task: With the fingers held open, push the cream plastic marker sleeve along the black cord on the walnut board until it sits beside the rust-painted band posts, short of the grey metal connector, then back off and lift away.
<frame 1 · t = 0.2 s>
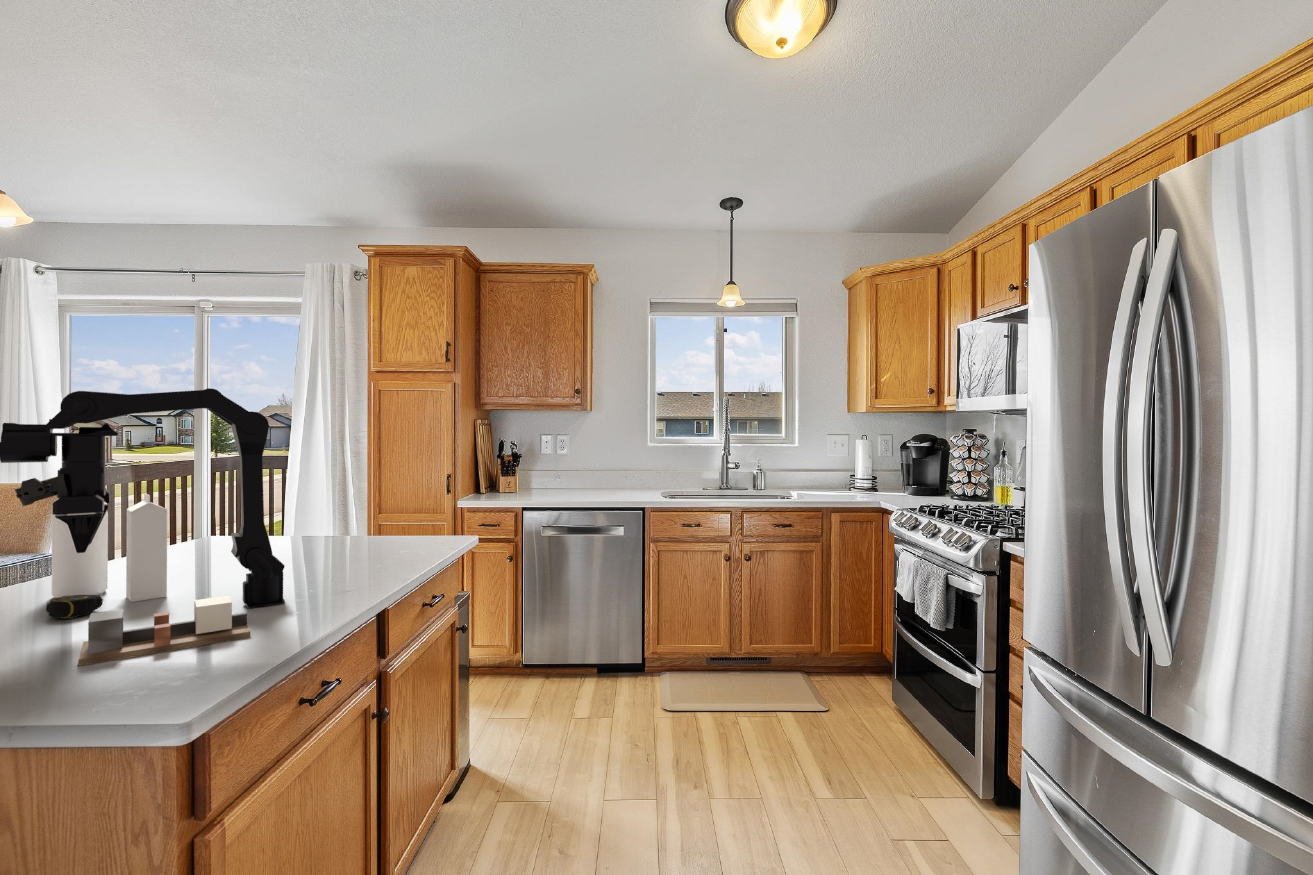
hand: (84, 548, 111), 14 cm above the counter, fingers open, 9 cm apart
tape measure: (73, 616, 119), on the counter
milk: (146, 597, 132), on the counter
alcohol: (80, 595, 133), on the counter
sleeve: (213, 614, 109), point 4 cm above the counter, slide at 0.0 cm
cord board: (169, 642, 105), on the counter
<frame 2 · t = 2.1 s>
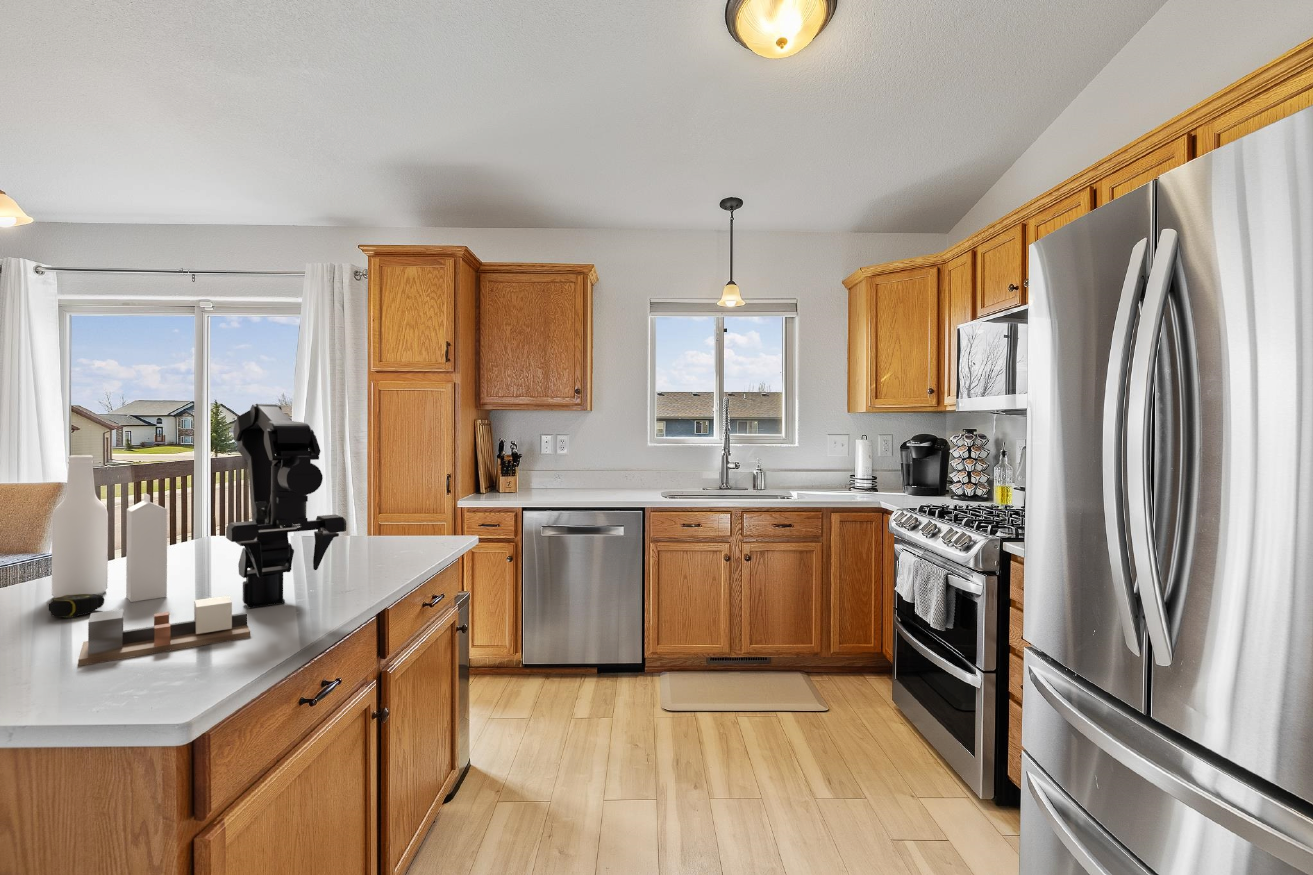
hand: (288, 573, 116), 9 cm above the counter, fingers open, 9 cm apart
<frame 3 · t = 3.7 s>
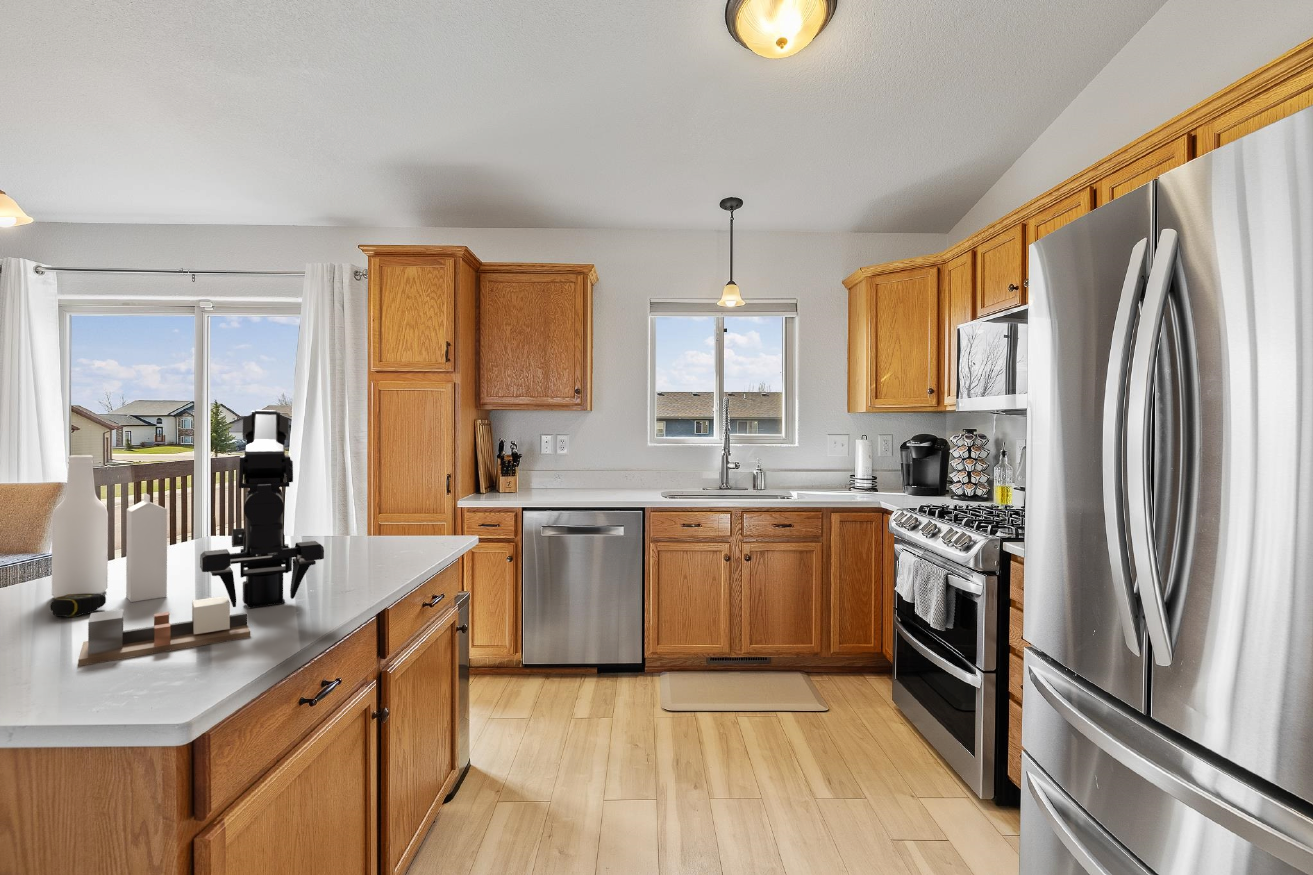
hand: (263, 602, 113), 5 cm above the counter, fingers open, 9 cm apart
sleeve: (210, 614, 108), point 4 cm above the counter, slide at 0.3 cm, touching gripper
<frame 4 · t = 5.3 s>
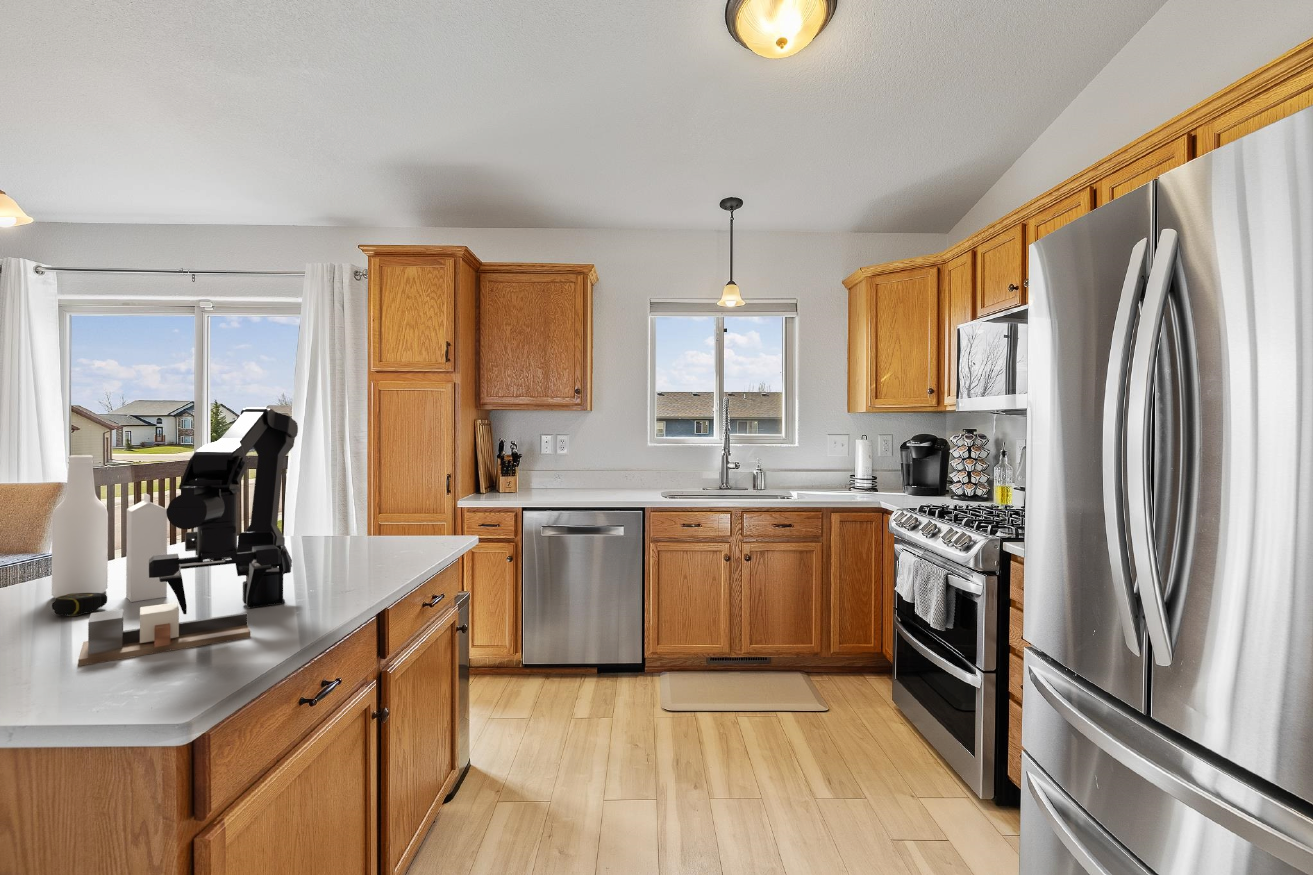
hand: (217, 608, 109), 5 cm above the counter, fingers open, 9 cm apart
sleeve: (159, 621, 104), point 4 cm above the counter, slide at 7.3 cm, touching gripper
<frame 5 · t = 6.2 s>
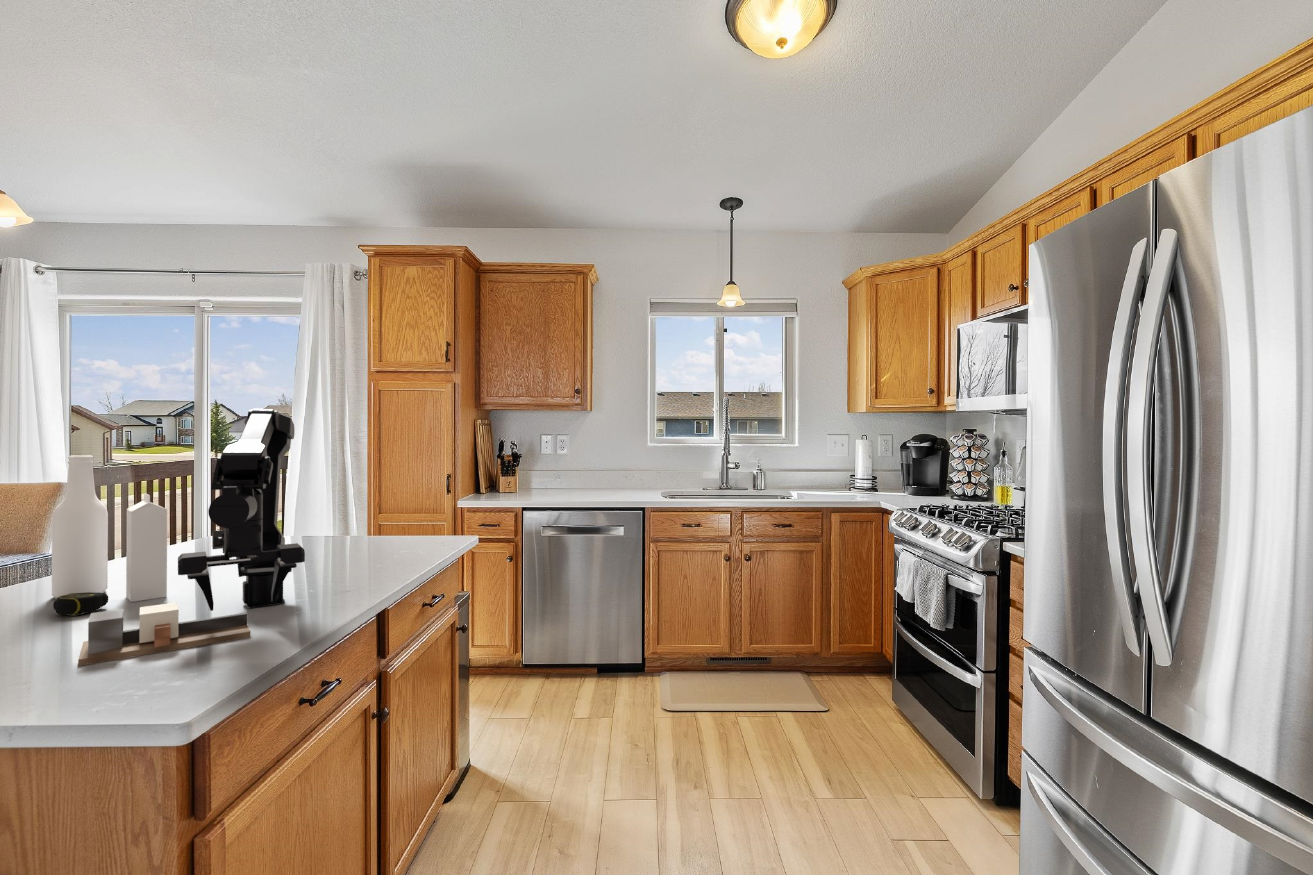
hand: (243, 605, 112), 4 cm above the counter, fingers open, 9 cm apart
sleeve: (159, 622, 104), point 4 cm above the counter, slide at 7.4 cm
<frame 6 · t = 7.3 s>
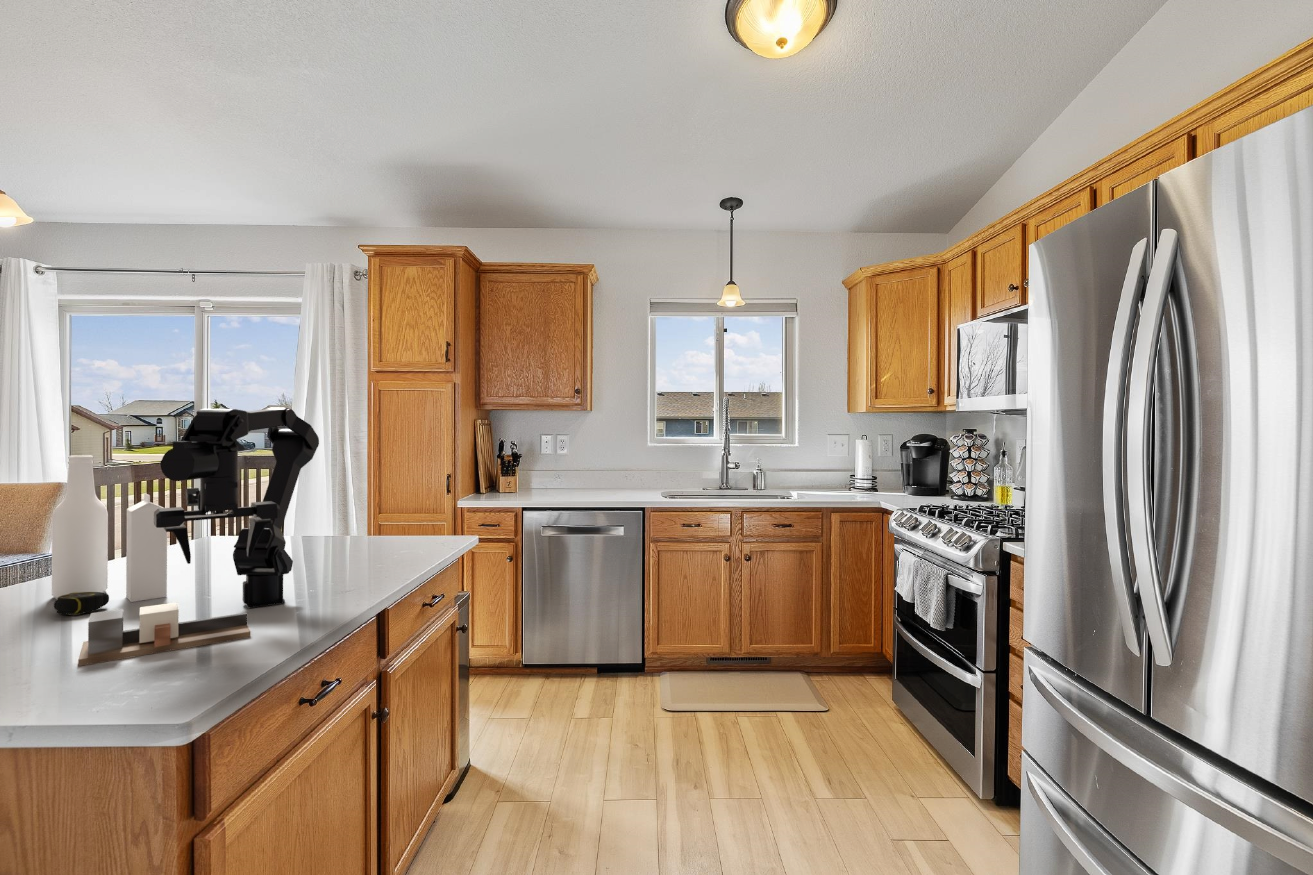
hand: (219, 559, 115), 12 cm above the counter, fingers open, 9 cm apart
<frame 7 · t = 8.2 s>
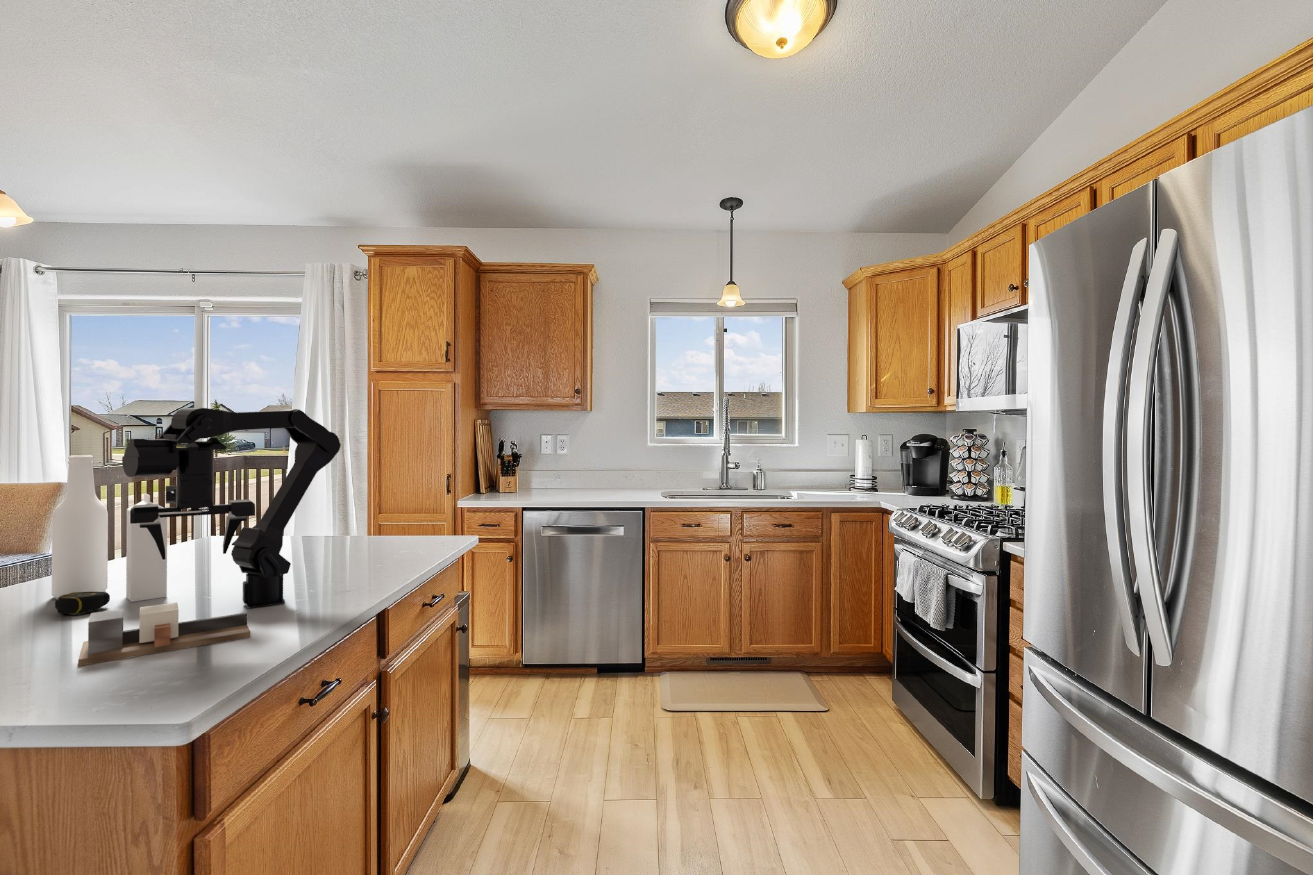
hand: (194, 556, 117), 12 cm above the counter, fingers open, 9 cm apart
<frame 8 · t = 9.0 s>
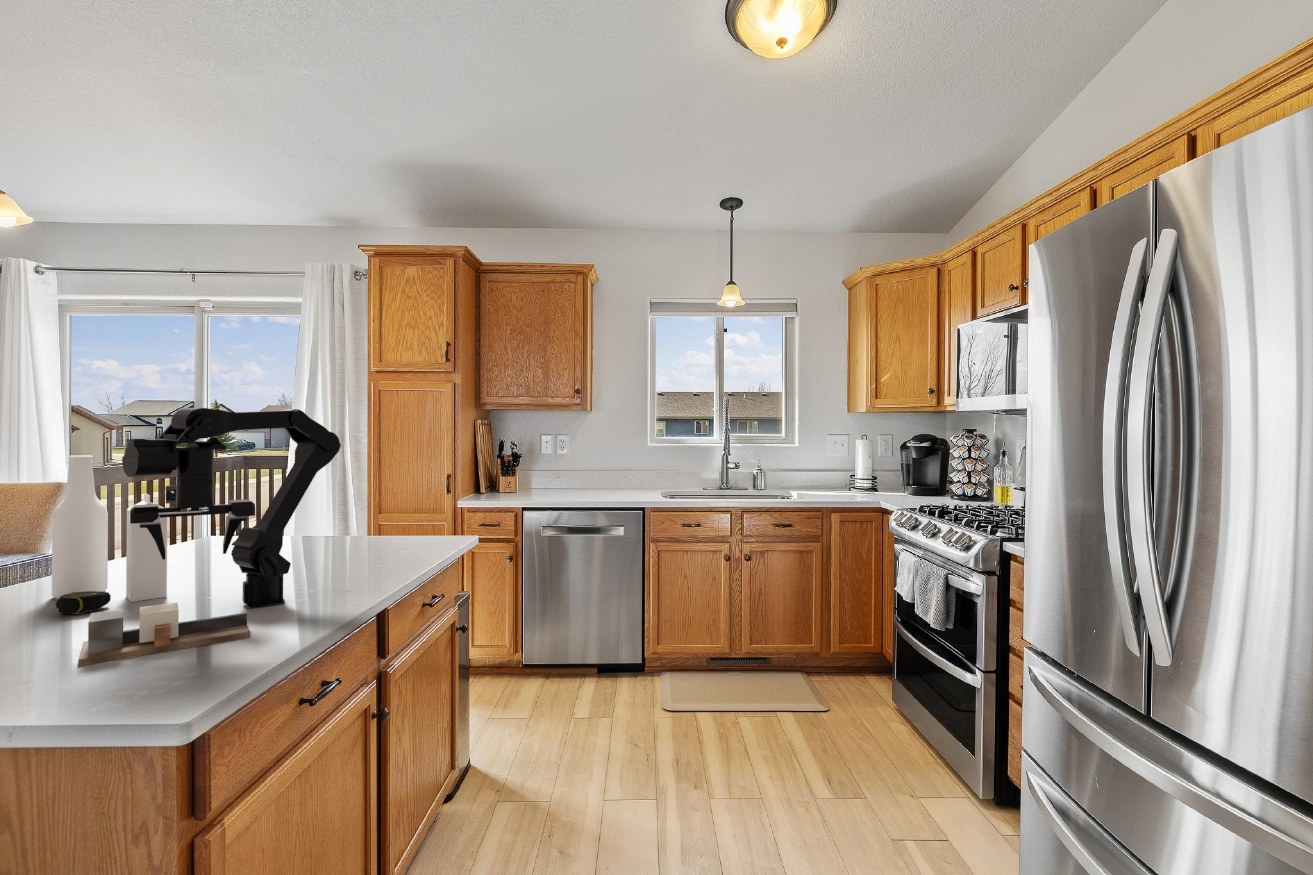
hand: (194, 556, 117), 12 cm above the counter, fingers open, 9 cm apart
at the end: sleeve slide at 7.4 cm; tape measure moved 2.9 cm from its start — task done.
